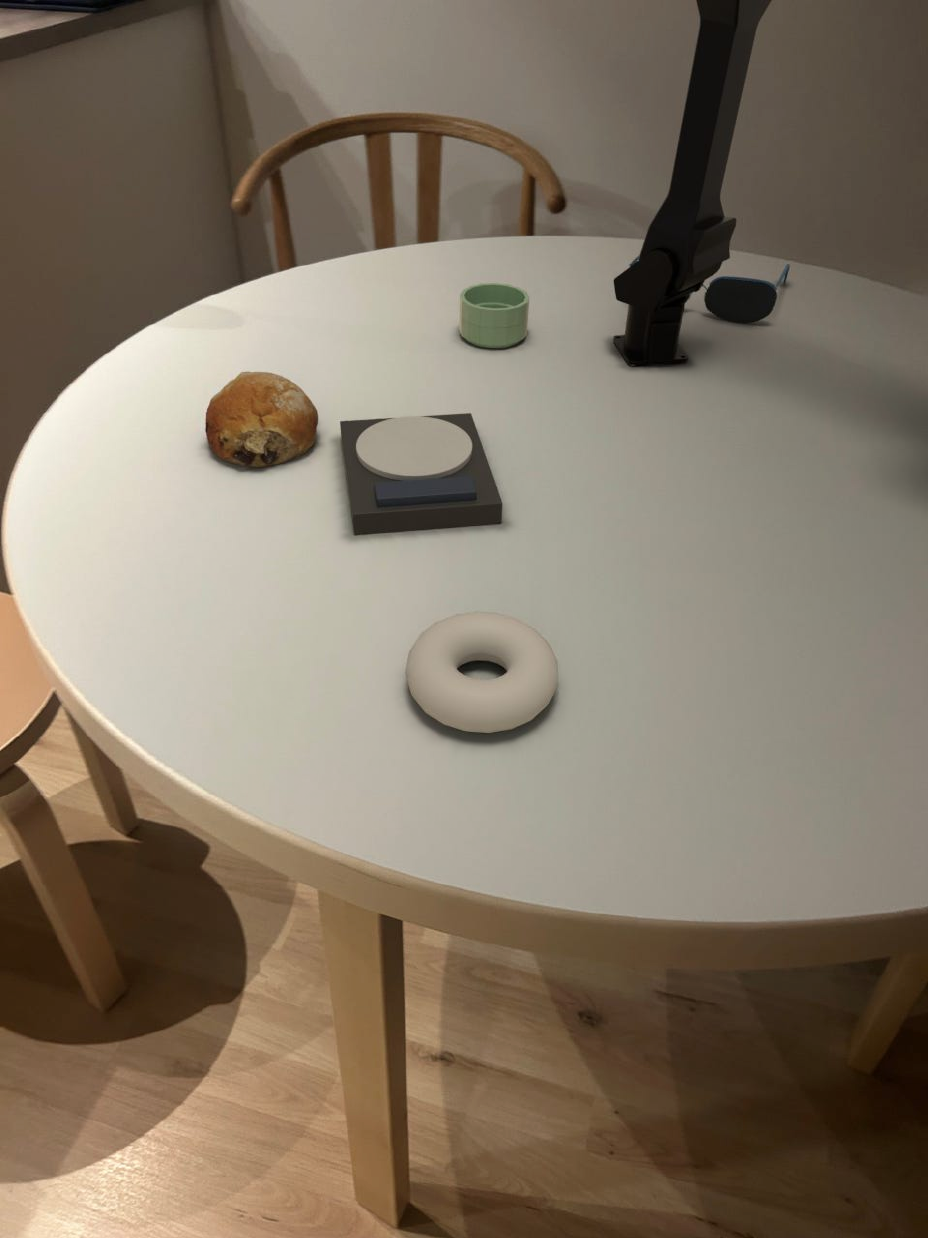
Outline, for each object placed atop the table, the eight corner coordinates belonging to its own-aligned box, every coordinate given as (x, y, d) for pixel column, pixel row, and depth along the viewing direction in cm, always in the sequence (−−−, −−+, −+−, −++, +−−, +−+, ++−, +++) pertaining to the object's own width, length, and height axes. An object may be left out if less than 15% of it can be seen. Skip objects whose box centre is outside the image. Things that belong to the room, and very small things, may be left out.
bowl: (455, 323, 108) (455, 284, 105) (518, 320, 109) (520, 281, 106) (465, 352, 102) (466, 311, 99) (532, 348, 103) (535, 307, 100)
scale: (341, 440, 88) (339, 412, 86) (470, 431, 89) (471, 404, 87) (353, 535, 76) (352, 505, 75) (501, 523, 78) (503, 494, 76)
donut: (543, 636, 68) (402, 640, 67) (548, 598, 66) (402, 602, 65) (567, 742, 60) (408, 747, 59) (573, 703, 58) (408, 708, 57)
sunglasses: (620, 302, 113) (627, 258, 110) (648, 276, 125) (655, 236, 122) (768, 328, 108) (779, 283, 106) (783, 299, 120) (793, 257, 117)
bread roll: (332, 471, 90) (346, 386, 88) (271, 479, 81) (285, 383, 78) (244, 447, 93) (255, 363, 91) (176, 451, 84) (186, 359, 81)
